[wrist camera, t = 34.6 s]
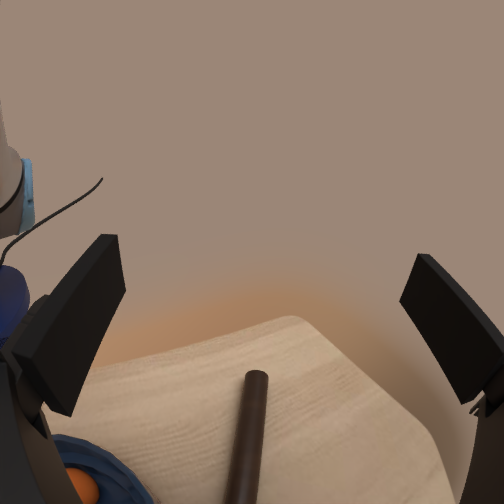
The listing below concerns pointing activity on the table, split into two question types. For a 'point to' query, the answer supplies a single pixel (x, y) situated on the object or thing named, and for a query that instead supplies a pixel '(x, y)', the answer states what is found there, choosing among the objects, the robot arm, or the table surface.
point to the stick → (248, 441)
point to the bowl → (104, 472)
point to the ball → (84, 485)
